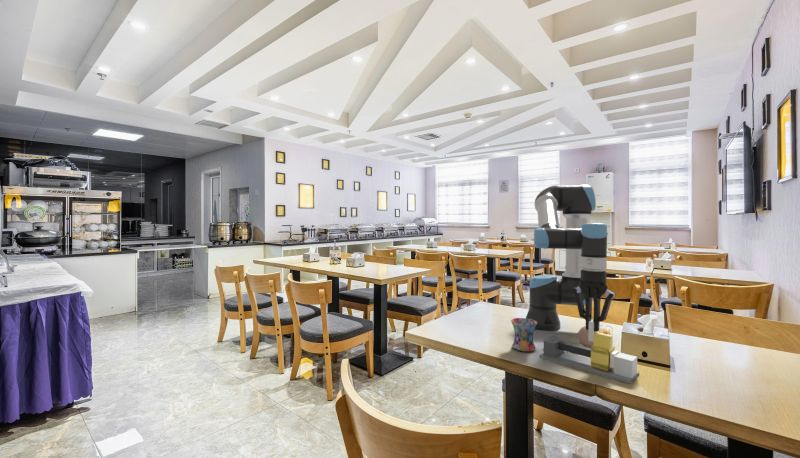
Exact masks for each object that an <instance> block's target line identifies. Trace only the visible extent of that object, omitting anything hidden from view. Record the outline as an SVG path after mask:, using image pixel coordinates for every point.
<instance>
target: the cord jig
mask: <svg viewBox="0 0 800 458" xmlns="http://www.w3.org/2000/svg"><path fill="white" fill-rule="evenodd" d="M538 356H539V358H541V359H543V360H547V361H551V362H554V363H557V364H560V365H565V366H567V367H571V368H574V369H578V370H581V371H585V372H588V373H591V374H595V375H598V376H602V377H606V378H608V379H613V380H616V381H620V382H622V383H626V384H631V383H632V382H633V381H634V380H635V379H636V378H637V377H638V376H639V375H640V371H638V356H636V355H631V354H627V353H624V352H621V351H619V350H617V349H616V350H614V351H613V352H612V353H610V356H609V363H610V367H611V369H609V370H608V371H606V370H602V369H599V368H595V367H592V366H591V348H588V347H584V346H582V345H581V344H580V345H579V344H575V343H571V342H567V341H565V337H561V336H556V335H552V336H550V337H548V338H545V340H543V352H542V353H541V354H539V355H538Z"/></svg>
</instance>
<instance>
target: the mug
mask: <svg viewBox="0 0 800 458" xmlns="http://www.w3.org/2000/svg"><path fill="white" fill-rule="evenodd" d="M510 321H511V323H512V327H513V331H514V338H513V342H512V344H511V346H512V348H513V349H515V350H517V351H519V352H533V351H535V350H536V349H537V347H536V344H535V343H534V334H535V330H536V329H535V327H536V325H537V322H536V321H535V320H532V319H527V318H526V317H515V318H511V320H510Z"/></svg>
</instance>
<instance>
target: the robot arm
mask: <svg viewBox="0 0 800 458" xmlns="http://www.w3.org/2000/svg"><path fill="white" fill-rule="evenodd" d="M596 204H597V203H596V195H595V190H594V188H593V187H592V185H589V184H565V185H559V184H557V185H551V186H548V187H546V188H545V189H543V190H542V191H540V192H539V193H538V194H537V196H536V198H535V199H534V209H535V211H536V212H537V224H538V227H537V228H535V229H533V245H534V247H535V248H536V249H544V250H546V249H553V250H555V249H556V250H557V249H559V250H560V249H561V250H562V249H563V250H565V271H564V272H563V273H562V274H561V278H558V276H557V275H556V274H539V275H534V276H532V277H531V278H530V279H529V286H528V288H529V306H528V307H529V308H528V311H527V313H526V316H525V318H527V319H532V320H535V321H536V322H537V325H536V327H535V330H540V331H541V330H542V331H556V330H559V329H561V320H560V317H559V315H558V312H557V311H558V310H557V305H563V306H564V305H565V306H576V307H577V310H578V314H579V317H580V318H581V319H582V318H583V319H584V320H585V326H586V330H589V333H588V341H592V342H594V333H595V332H599V331H600V323H601V322H604V321H606V320H607V316H608V314H609V311H610V307H611V304H612V301H613V299H614V298H615V296H616V292H612V291H611V290H609V287H608V285H607V272H606V270H607V256H608V255H607V252H608V249H607V248H608V244H607V243H608V235H609V233H608V225H607V224H606V223H604V222H603V223H600V222H597V223H596V222H595V223H591V222H588V218H590V217H591V216H592V212H594V211H595V210H596V209H597V206H596ZM558 212H562V216H563V217H564V218H565V228H563V227H562V228H561V227H560V221H559V217H558ZM604 295H605V297H606V298H605V299H604V301H603V302H604V303H603V306H602V309H601V300H602V297H603V296H604ZM592 315H593V317H592Z"/></svg>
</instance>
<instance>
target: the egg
mask: <svg viewBox="0 0 800 458" xmlns="http://www.w3.org/2000/svg"><path fill="white" fill-rule="evenodd" d="M588 333H589V330H586V325H584V326H582V327H580V329H579V330H578V331H577V341H578V343H579V344H580V346H584V347H588V348H591V346H593V345H594V342H592V341H588Z"/></svg>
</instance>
